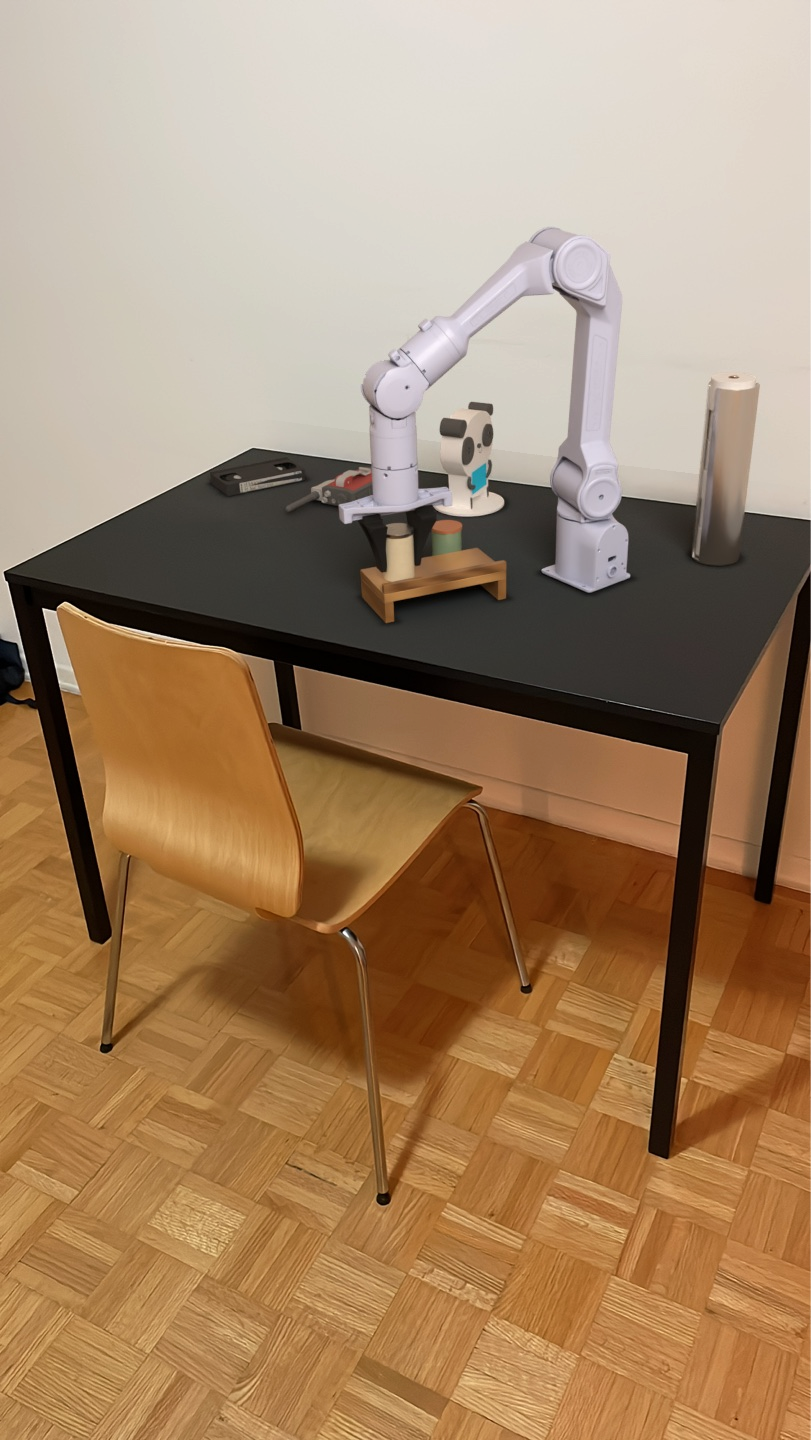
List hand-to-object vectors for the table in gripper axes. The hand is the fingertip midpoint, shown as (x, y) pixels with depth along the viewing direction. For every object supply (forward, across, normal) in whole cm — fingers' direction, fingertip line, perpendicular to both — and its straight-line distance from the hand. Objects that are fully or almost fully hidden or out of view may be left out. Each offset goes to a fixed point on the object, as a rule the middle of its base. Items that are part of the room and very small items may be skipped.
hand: (398, 566), depth 146 cm
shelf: (+5, -5, 0) cm, 7 cm away
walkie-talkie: (+6, -6, -42) cm, 42 cm away
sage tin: (+5, -10, -8) cm, 14 cm away
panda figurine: (+6, -24, -31) cm, 39 cm away
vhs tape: (+6, +3, -58) cm, 58 cm away
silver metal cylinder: (+6, -45, +5) cm, 46 cm away
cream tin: (+1, 0, 0) cm, 1 cm away
